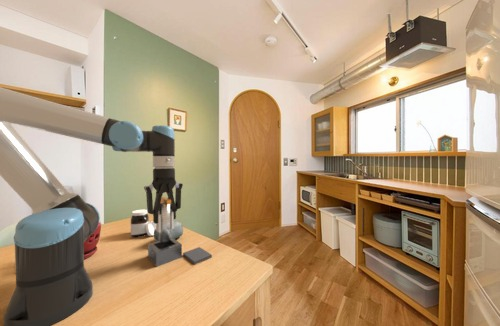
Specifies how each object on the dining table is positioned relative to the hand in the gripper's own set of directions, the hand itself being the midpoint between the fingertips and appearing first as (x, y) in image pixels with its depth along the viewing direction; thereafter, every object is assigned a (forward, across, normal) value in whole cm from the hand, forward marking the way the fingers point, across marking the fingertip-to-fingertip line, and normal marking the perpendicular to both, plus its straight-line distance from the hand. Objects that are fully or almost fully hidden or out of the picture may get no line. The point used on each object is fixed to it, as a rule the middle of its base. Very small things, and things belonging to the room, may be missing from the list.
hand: (165, 229), depth 71 cm
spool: (+11, +7, +14) cm, 19 cm away
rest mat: (+11, +9, -8) cm, 16 cm away
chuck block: (+11, 0, 0) cm, 11 cm away
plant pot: (+11, -23, +24) cm, 35 cm away
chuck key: (+4, 0, 0) cm, 4 cm away
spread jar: (+11, +1, +30) cm, 32 cm away
